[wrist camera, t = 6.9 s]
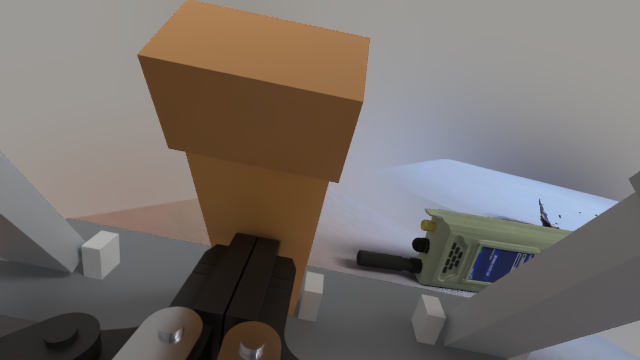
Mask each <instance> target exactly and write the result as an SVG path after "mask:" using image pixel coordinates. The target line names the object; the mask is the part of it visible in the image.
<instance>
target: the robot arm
mask: <svg viewBox="0 0 640 360" xmlns="http://www.w3.org/2000/svg"><path fill="white" fill-rule="evenodd" d="M280 242H281V241H279V240H274V239H269V238H264V237H259V239H258V236H254V235H249V234H244V233H239V232H237V233H236V234H235V236H234V237H233V239H232V241H231V243H230V244H229V246H226V245H221V244H216V245H215V246H213V247H212V248H210V249H208V250H207V251H205V253H204V254H203V256H202V257H201V259H200V260H199V262H198V264H197V265H196V266H195V268H194V269H193V271H192V273H191V274H190V275H189V277H188V278H187V280H186V281H185V283H184V284H183V286H182V287H181V289H180V290H179V292H178V293H177V295H176V296H175V298H174V299H173V301H172V302H171V304H170V305H169V307H168V308H165V309H161V310H159V311H157V312H155V313H153V314H152V315H150V316H149V317H148V318H147V319H146V320H145V321H144V322H143V323H142V324H141V325H140V326H137V327H132V328H123V329H110V330H100V323H99V321H98V320H97V319H96V318H95V317H94V316H92V315H90V314H86V313H80V312H74V313H66V314H61V315H58V316H55V317H52V318H49V319H47V320H44V321H41V322H39V323H36V324H34V325H31V326H28V327H26V328H23V329H21V330H18V331H15V332H13V333H10V334H7V335H5V336H2V337H0V360H299V359H298V358H297V357H296V356H294V355H293V354H292V352H291V351H290V350H289V348H288V347H287V344H286V342H285V337H284V332H285V326H286V321H287V316H288V311H289V305H290V300H291V295H292V290H293V285H294V280H295V275H296V270H297V269H296V267H295V264H294V261H293V259H292V258H287V257H282V256H278V254H279V249H280Z"/></svg>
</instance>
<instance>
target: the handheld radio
mask: <svg viewBox="0 0 640 360" xmlns="http://www.w3.org/2000/svg"><path fill="white" fill-rule="evenodd" d="M425 211H426V212H427V213H428V215H430V216H432V219H431V221H429V220H423V221H422V222H421V229H422V230H424V231H427V233H426V236H425V238H415V239H414V240H413V242H412V247H413V249H414V250H415V251H417V252H420V254H419V256H418V258H410V259H408V258H402V257H400V256H394V255H387V254H381V253H375V252H369V251H362V250H359V252H358V254H357V264H358V265H361V266H368V267H375V268H382V269H390V270H397V271H402V270H407V271H409V272H411V273H415V276H416V278H417V280H418V282H419V283H420V284H423V285H430V286H438V287H445V288H452V289H459V290H467V291H474V292H480V291H481V290H483V289H485V288H486V287H488V286H489V285H491V284H492V283H494V282H496V281H497V280H499V279H500V278H502V277H503V276H505V275H506V274H508V273H510V272H511V271H513V270H514V269H516V268H517V267H519V266H521V265H522V264H524V263H525V262H527V261H528V260H530V259H532V258H533V257H535V256H536V255H538V254H539V253H541V252H542V251H544V250H546V249H547V248H549V247H550V246H552V245H553V244H555V243H557V242H558V241H560V240H561V239H563V238H564V237H566V236H567V235H569V234H571V233H572V232H574V231H568V230H562V229H556V228H550V227H544V226H538V225H532V224H526V223H519V222H513V221H507V220H501V219H495V218H489V217H483V216H477V215H471V214H464V213H458V212H452V211H445V210H440V209H438V210H435V209H425Z"/></svg>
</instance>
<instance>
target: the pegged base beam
mask: <svg viewBox="0 0 640 360" xmlns="http://www.w3.org/2000/svg"><path fill="white" fill-rule="evenodd" d="M66 221H67V222H68V223H69V224H70V225H71V227H72V228H73V229H74V230H75V231H76V232H77V233H78V234H79V235H80V236H81V237H82V238H83V239H84V240H85V241H86V243H84V244H83V245H82V246H81V251H82V259H81V260H80V262H79V263H78V265H77V267H76V268H75V270H74V271H73V273H70V272H65V271H60V270H55V269H50V268H45V267H40V266H35V265H30V264H25V263H19V262H14V261H9V260H5V259H3V258H2V257H0V337H2V336H5V335H7V334H10V333H13V332H15V331H18V330H21V329H23V328H26V327H28V326H31V325H34V324H36V323H39V322H41V321H44V320H47V319H49V318H52V317H55V316H58V315H61V314H66V313H74V312H80V313H86V314H90V315H92V316H94V317H95V318H96V319H97V320H98V321H99V323H100V330H110V329H123V328H132V327H137V326H140V325H141V324H142V323H143V322H144V321H145V320H146V319H147V318H148V317H149V316H150V315H152V314H153V313H155V312H157V311H159V310H161V309H165V308H168V307H169V305H170V304H171V302H172V301H173V299H174V298H175V296H176V295H177V293H178V292H179V290H180V289H181V287H182V286H183V284H184V283H185V281H186V280H187V278H188V277H189V275H190V274H191V273H192V271H193V269H194V268H195V266H196V265H197V264H198V262H199V260H200V259H201V257H202V256H203V254H204V253H205V251H207V250H208V249H210V248H212V247H211V246H206V245H201V244H196V243H191V242H186V241H181V240H176V239H171V238H166V237H161V236H156V235H151V234H146V233H141V232H136V231H131V230H126V229H121V228H116V227H111V226H106V225H101V224H96V223H91V222H86V221H81V220H76V219H71V218H67V219H66ZM467 299H469V298H466V297H461V296H456V295H451V294H446V293H441V292H436V291H431V290H426V289H421V288H416V287H411V286H406V285H401V284H396V283H391V282H386V281H381V280H376V279H371V278H366V277H361V276H356V275H351V274H346V273H341V272H336V271H331V270H326V269H321V268H316V267H311V266H306V269H305V273H304V277H303V281H302V285H301V288H300V292H299V296H298V300H297V303H296V307H295V311H294V315H293V316H289V315H288V316H287V321H286V326H285V332H284V337H285V342H286V344H287V347H288V348H289V350H290V351H291V352H292V354H293V355H294V356H296V357H297V358H298V359H299V360H526V359H527V357H528V355H529V354H530V352H529V353H526V354H522V355H519V356H515V357H512V358H509V359H508V358H503V357H498V356H493V355H488V354H482V353H477V352H472V351H467V350H462V349H457V348H452V347H447V346H444V336H443V325H444V322H445V320H446V316H445V314H446V313H447V312H449V311H450V310H452V309H453V308H455V307H456V306H458V305H460V304H461V303H463V302H464V301H466V300H467Z"/></svg>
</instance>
